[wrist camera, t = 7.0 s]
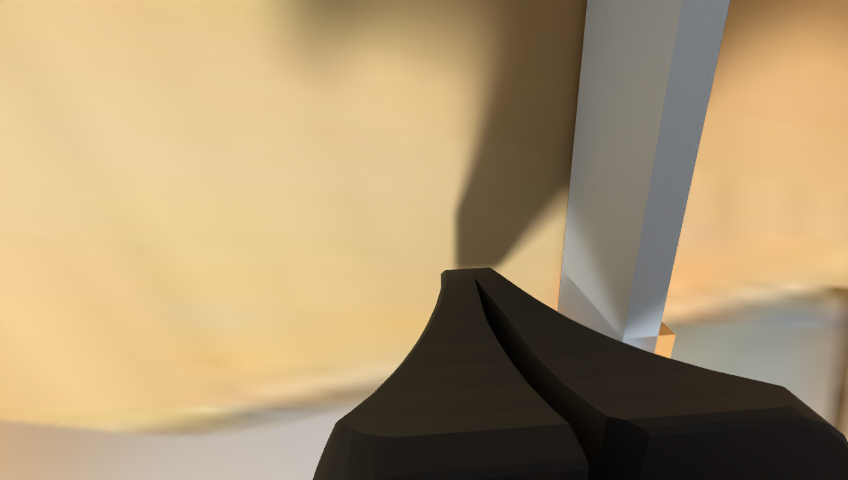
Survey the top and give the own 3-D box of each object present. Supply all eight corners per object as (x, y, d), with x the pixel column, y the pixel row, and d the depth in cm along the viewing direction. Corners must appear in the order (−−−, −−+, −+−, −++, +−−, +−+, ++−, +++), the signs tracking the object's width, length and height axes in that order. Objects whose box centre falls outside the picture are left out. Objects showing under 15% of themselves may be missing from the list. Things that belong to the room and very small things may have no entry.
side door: (592, 321, 13) (659, 403, 9) (556, 323, 13) (611, 407, 9) (670, -246, 8) (867, -483, 4) (610, -243, 8) (765, -482, 4)
